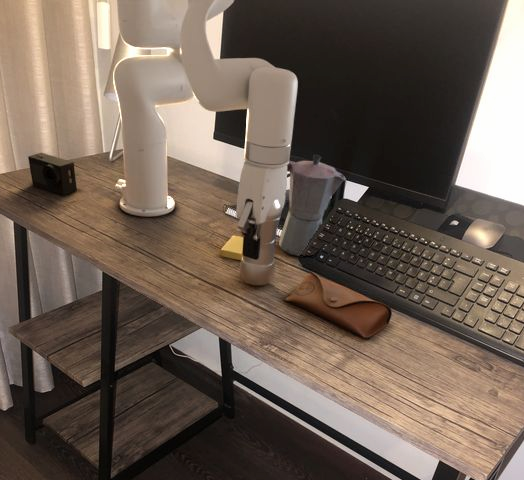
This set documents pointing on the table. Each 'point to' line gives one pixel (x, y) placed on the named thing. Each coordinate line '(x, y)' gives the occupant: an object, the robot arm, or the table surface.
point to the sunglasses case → (341, 305)
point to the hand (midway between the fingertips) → (258, 250)
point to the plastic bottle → (263, 250)
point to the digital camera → (52, 173)
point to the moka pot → (307, 201)
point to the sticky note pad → (233, 248)
